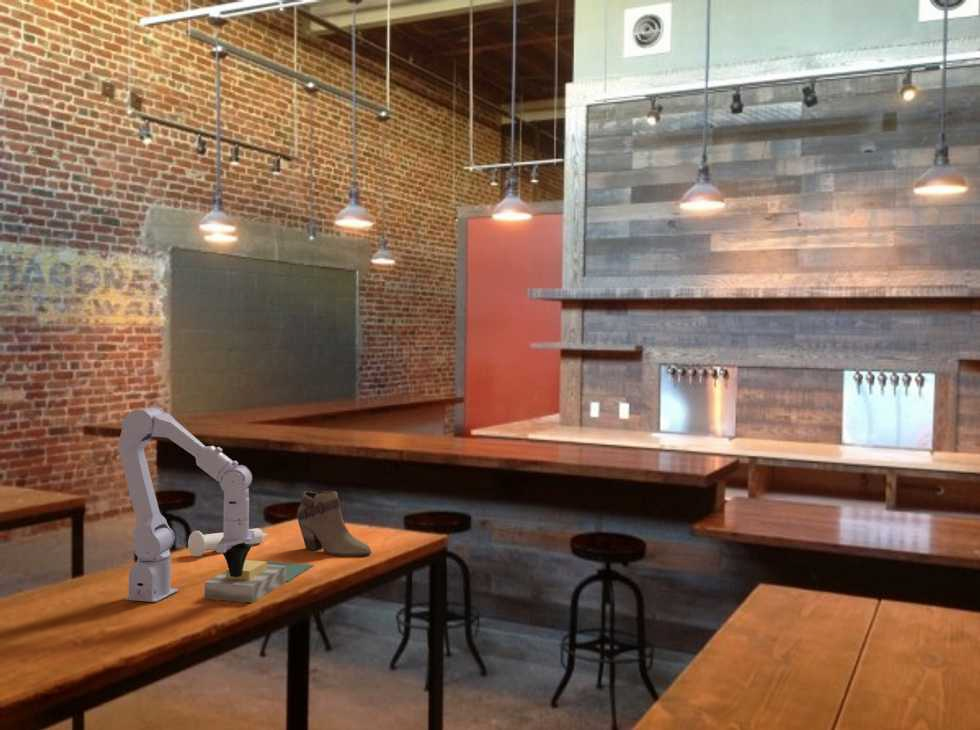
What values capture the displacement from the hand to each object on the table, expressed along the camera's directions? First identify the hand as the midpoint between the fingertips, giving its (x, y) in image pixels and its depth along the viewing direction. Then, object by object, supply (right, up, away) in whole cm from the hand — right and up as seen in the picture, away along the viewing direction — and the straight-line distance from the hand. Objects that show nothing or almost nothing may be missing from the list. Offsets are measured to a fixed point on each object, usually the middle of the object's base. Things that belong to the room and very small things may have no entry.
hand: (235, 576), depth 203 cm
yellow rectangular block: (+1, -1, +5) cm, 6 cm away
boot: (+15, -4, +45) cm, 47 cm away
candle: (-22, 0, +36) cm, 42 cm away
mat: (+4, -4, +22) cm, 23 cm away
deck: (+1, -5, +6) cm, 7 cm away
